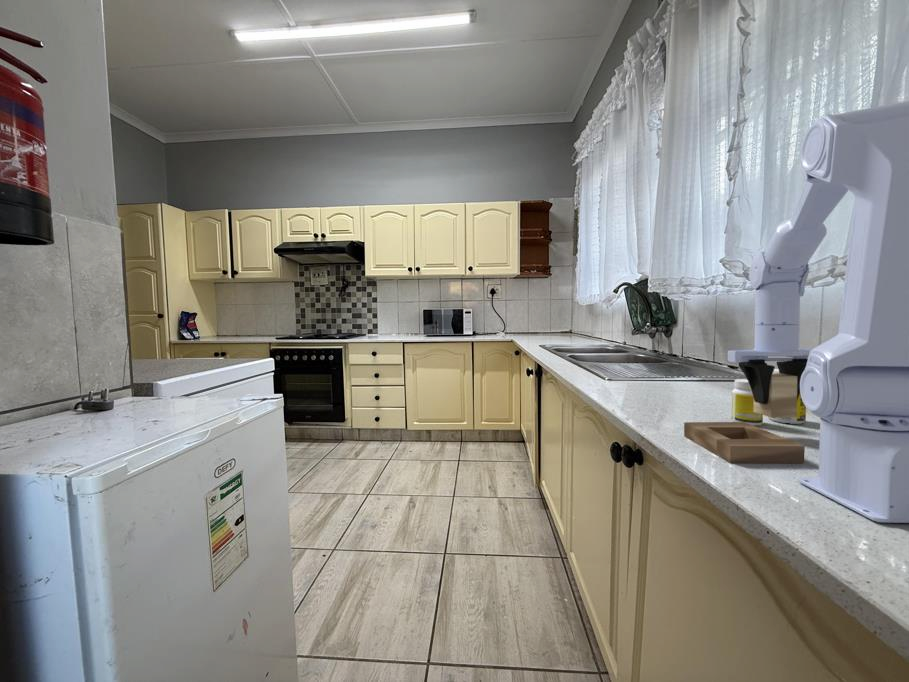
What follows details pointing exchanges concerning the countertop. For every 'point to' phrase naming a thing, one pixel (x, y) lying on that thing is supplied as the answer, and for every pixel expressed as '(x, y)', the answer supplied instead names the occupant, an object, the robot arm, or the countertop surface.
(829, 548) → the countertop surface
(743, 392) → the supplement bottle
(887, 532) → the countertop surface
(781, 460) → the collar block
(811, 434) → the countertop surface
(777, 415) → the oak peg
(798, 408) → the supplement bottle
